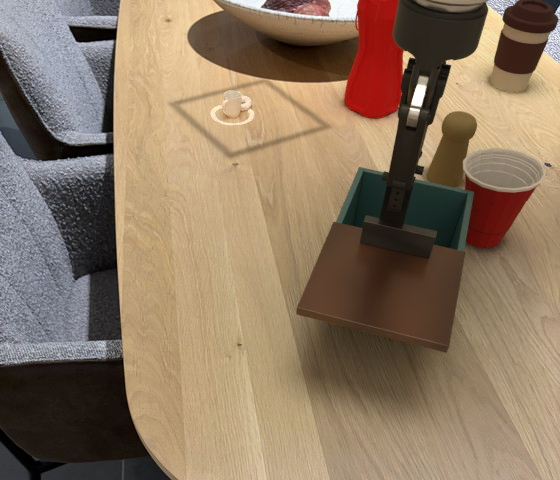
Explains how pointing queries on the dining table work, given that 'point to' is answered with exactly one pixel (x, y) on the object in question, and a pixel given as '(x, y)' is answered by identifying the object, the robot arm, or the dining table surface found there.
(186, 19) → the dining table surface
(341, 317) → the sliding lid
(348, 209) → the storage box
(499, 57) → the coffee cup
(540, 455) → the dining table surface
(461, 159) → the brown pawn
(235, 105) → the teacup and saucer
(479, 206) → the plastic cup
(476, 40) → the robot arm
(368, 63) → the water bottle
